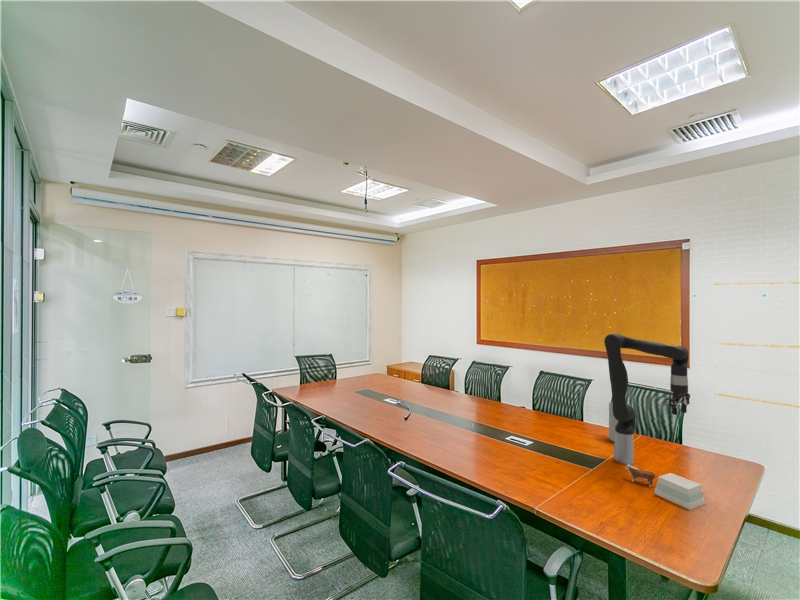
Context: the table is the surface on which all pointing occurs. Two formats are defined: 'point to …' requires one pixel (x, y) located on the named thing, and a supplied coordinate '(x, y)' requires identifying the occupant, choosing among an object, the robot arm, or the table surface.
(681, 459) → the table surface
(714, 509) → the table surface
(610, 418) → the cylinder vase
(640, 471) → the bull figurine
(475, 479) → the table surface
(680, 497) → the white stepped block
